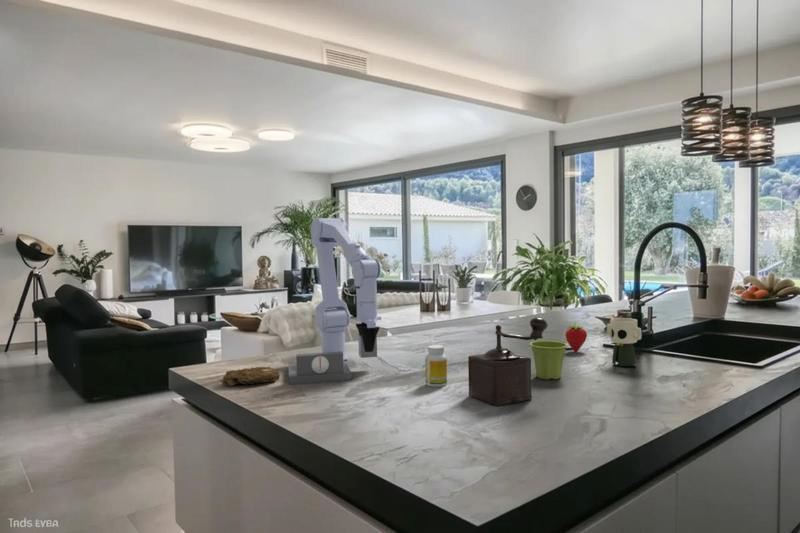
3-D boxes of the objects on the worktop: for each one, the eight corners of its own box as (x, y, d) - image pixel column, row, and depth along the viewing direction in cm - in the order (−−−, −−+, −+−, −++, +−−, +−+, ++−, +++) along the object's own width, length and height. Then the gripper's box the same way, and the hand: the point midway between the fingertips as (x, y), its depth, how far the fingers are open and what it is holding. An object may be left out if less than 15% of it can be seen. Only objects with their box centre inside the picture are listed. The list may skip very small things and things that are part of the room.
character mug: (599, 363, 156) (599, 318, 155) (615, 360, 159) (615, 316, 159) (632, 370, 146) (632, 322, 146) (649, 367, 150) (649, 320, 150)
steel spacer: (358, 354, 156) (358, 333, 155) (374, 353, 156) (374, 333, 156) (361, 357, 151) (360, 336, 151) (377, 356, 152) (376, 335, 152)
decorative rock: (232, 394, 133) (286, 385, 143) (232, 377, 133) (287, 369, 143) (213, 383, 142) (266, 375, 152) (213, 368, 142) (266, 361, 152)
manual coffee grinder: (497, 407, 116) (496, 323, 115) (467, 396, 126) (466, 318, 125) (552, 397, 123) (551, 317, 123) (519, 386, 133) (518, 313, 132)
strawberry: (591, 351, 174) (591, 320, 173) (576, 354, 169) (575, 322, 169) (576, 348, 178) (576, 318, 178) (561, 351, 174) (560, 320, 174)
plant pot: (574, 376, 142) (573, 343, 141) (557, 383, 135) (556, 348, 135) (541, 371, 148) (541, 339, 148) (523, 377, 141) (523, 344, 141)
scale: (288, 369, 157) (287, 345, 157) (344, 365, 160) (343, 341, 160) (289, 384, 140) (288, 357, 139) (351, 379, 143) (350, 353, 143)
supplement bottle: (421, 384, 137) (420, 346, 136) (436, 380, 140) (436, 343, 140) (436, 388, 133) (435, 349, 132) (451, 384, 136) (451, 346, 136)
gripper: (385, 303, 147) (386, 353, 147) (376, 298, 161) (377, 344, 162) (359, 305, 145) (360, 355, 146) (352, 299, 160) (353, 345, 160)
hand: (367, 349), depth 154 cm, fingers closed on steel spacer, 4 cm apart
